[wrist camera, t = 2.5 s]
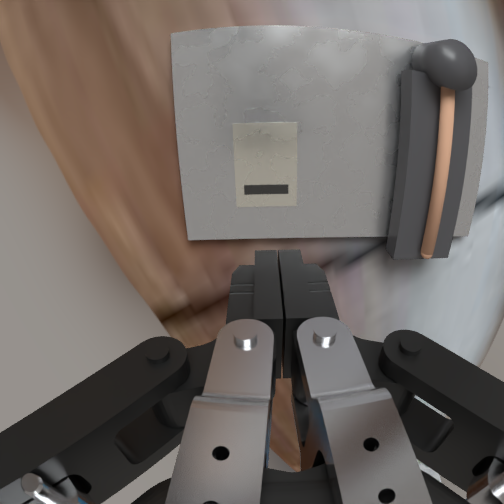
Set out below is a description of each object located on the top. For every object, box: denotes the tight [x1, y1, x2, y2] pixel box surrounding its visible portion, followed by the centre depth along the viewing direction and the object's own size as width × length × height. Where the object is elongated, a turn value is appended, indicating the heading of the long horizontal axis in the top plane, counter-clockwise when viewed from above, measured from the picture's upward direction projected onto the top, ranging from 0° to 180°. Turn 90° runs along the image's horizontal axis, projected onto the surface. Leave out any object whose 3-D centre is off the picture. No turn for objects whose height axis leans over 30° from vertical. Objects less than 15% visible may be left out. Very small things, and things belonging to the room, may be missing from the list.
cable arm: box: [386, 39, 477, 260], centre depth 21 cm, size 19×6×4 cm, turn 2°
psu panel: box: [171, 26, 488, 240], centre depth 24 cm, size 28×18×1 cm, turn 92°
